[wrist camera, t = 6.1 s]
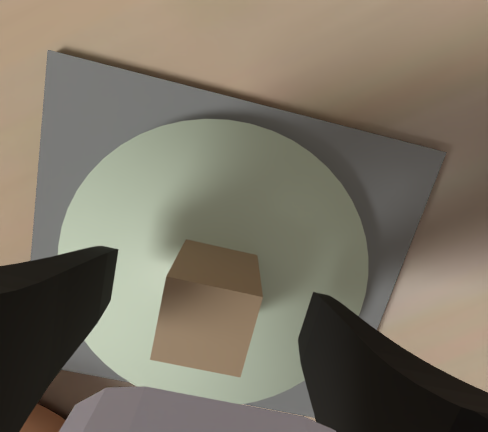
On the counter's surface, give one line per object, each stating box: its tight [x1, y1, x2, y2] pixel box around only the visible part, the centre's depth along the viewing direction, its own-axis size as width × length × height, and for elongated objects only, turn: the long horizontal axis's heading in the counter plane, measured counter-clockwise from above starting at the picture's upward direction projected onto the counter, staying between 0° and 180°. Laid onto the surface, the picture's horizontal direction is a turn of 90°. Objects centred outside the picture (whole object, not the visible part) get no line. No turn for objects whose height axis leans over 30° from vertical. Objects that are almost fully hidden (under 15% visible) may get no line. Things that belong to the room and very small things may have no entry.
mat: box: [31, 50, 447, 418], centre depth 14 cm, size 16×14×1 cm
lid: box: [58, 119, 368, 404], centre depth 12 cm, size 13×13×4 cm
